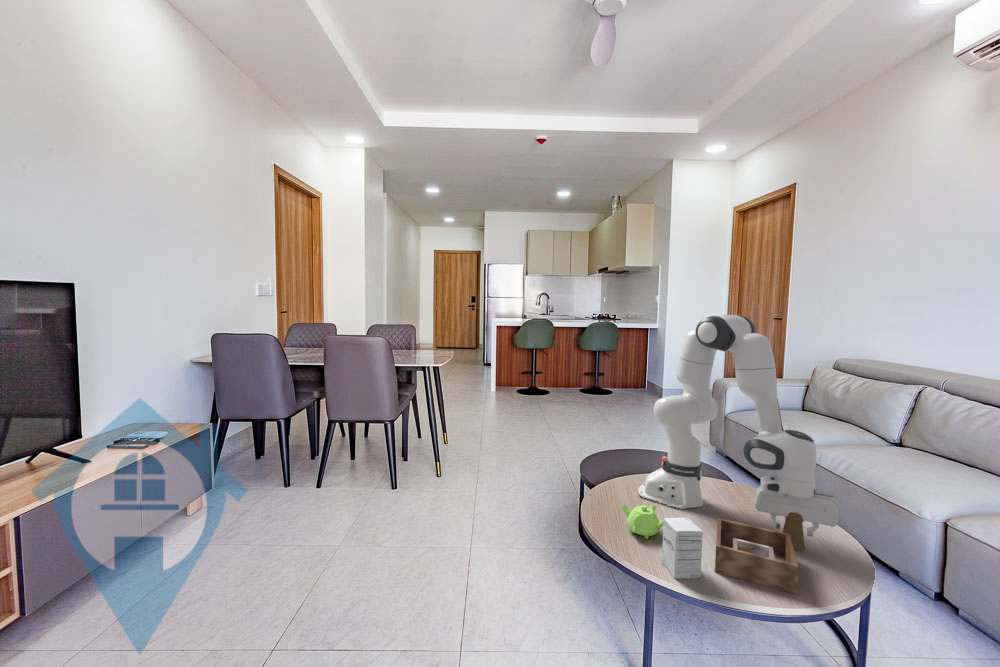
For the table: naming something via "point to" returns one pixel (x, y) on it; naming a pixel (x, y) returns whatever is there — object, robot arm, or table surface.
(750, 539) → the walled box
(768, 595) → the table surface
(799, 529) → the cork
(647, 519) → the teapot
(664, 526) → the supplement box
